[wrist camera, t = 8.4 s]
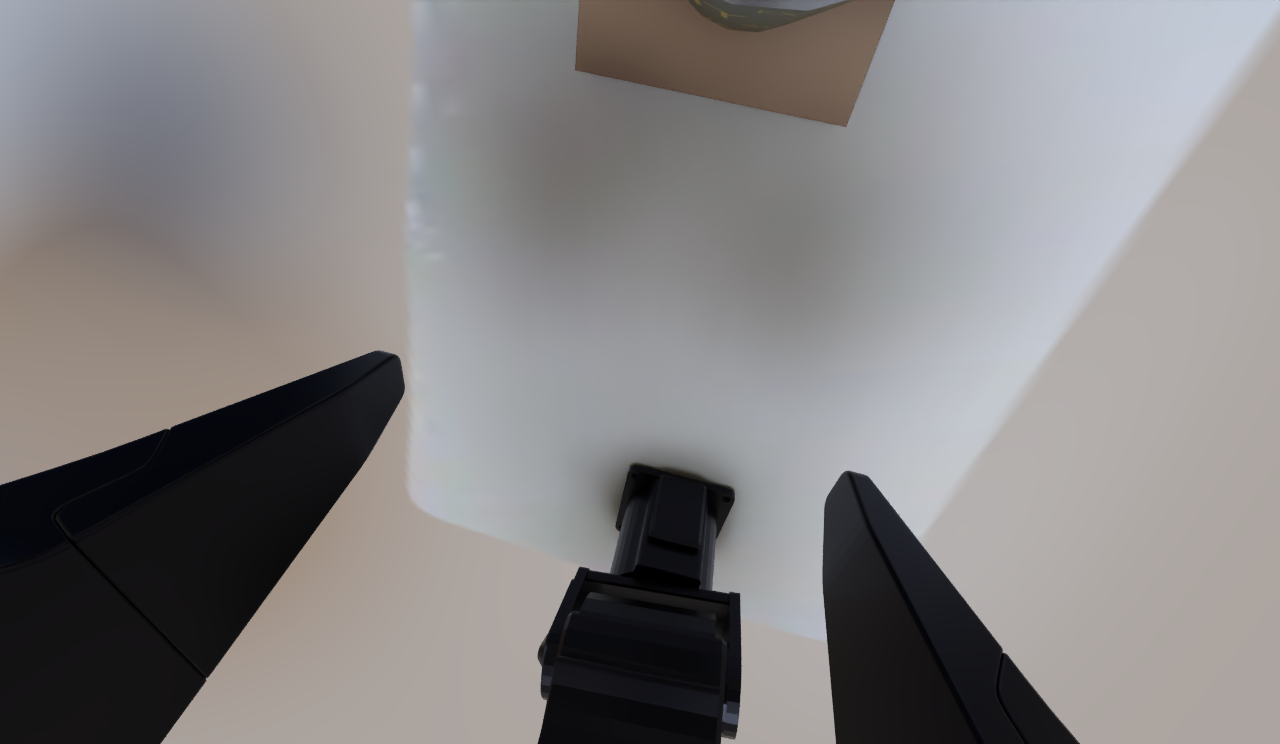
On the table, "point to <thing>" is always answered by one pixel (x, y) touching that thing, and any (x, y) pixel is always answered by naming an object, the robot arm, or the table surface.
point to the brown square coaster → (736, 54)
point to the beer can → (761, 12)
